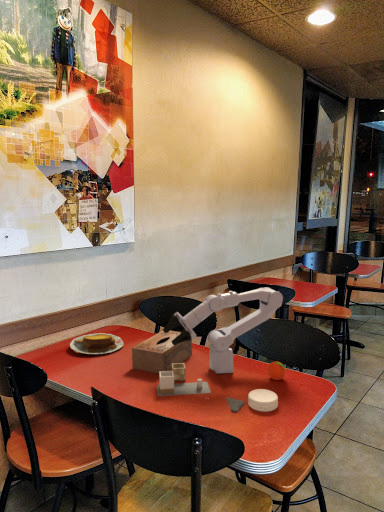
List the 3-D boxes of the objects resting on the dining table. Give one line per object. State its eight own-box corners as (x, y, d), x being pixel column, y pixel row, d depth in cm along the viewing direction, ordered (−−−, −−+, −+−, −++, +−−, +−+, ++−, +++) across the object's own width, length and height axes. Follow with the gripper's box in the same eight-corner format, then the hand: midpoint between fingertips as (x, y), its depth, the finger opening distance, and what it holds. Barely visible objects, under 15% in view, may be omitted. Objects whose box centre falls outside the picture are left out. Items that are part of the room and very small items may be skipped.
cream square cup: (173, 386, 149) (173, 370, 148) (174, 392, 144) (173, 376, 143) (159, 386, 149) (159, 371, 148) (160, 393, 144) (159, 377, 143)
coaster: (284, 406, 136) (284, 397, 135) (262, 415, 130) (262, 405, 130) (263, 395, 144) (263, 385, 144) (242, 403, 139) (242, 393, 138)
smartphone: (206, 392, 145) (245, 400, 138) (206, 394, 146) (245, 403, 138) (196, 401, 139) (236, 411, 132) (196, 404, 139) (236, 413, 132)
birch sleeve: (184, 377, 159) (184, 362, 158) (185, 383, 154) (185, 368, 153) (171, 378, 158) (171, 363, 157) (172, 383, 153) (172, 368, 152)
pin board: (207, 384, 153) (207, 374, 152) (211, 395, 144) (210, 384, 143) (156, 387, 151) (156, 377, 150) (157, 398, 142) (157, 388, 141)
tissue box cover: (162, 377, 160) (162, 353, 158) (132, 371, 166) (131, 347, 165) (192, 355, 182) (191, 334, 181) (164, 350, 189) (164, 329, 187)
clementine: (291, 380, 156) (291, 362, 155) (280, 385, 151) (281, 367, 150) (274, 373, 161) (274, 356, 160) (263, 379, 157) (263, 361, 156)
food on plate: (113, 335, 210) (113, 323, 210) (132, 350, 189) (131, 337, 188) (63, 344, 198) (63, 331, 197) (77, 361, 176) (77, 347, 175)
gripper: (183, 300, 163) (156, 320, 160) (201, 321, 152) (172, 343, 150) (189, 310, 167) (163, 330, 165) (207, 331, 157) (179, 353, 154)
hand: (168, 337), depth 158 cm, fingers open, 7 cm apart
